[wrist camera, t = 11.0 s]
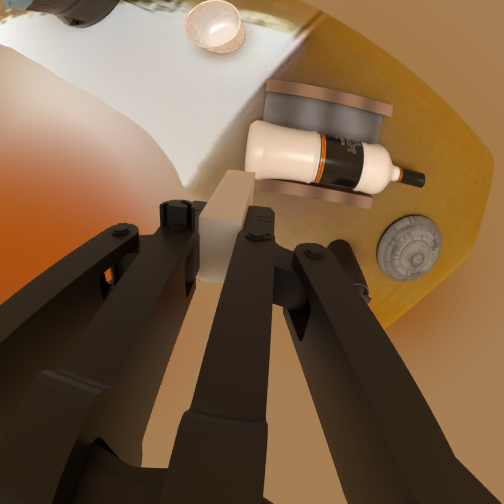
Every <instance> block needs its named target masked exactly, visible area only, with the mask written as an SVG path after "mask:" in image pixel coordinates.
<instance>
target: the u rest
mask: <svg viewBox="0 0 504 504" xmlns="http://www.w3.org/2000/svg"><path fill="white" fill-rule="evenodd" d="M265 91H266V99H265V106H264V114H263V121H266V122H268V123H271V124H275V125H279V126H283V127H288V128H293V129H298V130H305V131H316V132H317V133H323V134H328V135H334V136H339V137H344V138H349V139H354V140H358V141H363V142H367V143H372V144H377V143H378V139H379V134H380V129H381V123H382V118H383V116H387V117H392V111H393V105H389V104H386V103H383V102H379V101H376V100H372V99H369V98H365V97H361V96H358V95H354V94H349V93H345V92H341V91H337V90H332V89H327V88H323V87H318V86H312V85H307V84H301V83H295V82H289V81H282V80H275V79H267V81H266V88H265ZM254 189H257V190H264V191H270V192H277V193H283V194H290V195H296V196H302V197H308V198H314V199H320V200H325V201H331V202H336V203H342V204H347V205H352V206H357V207H362V208H367V209H370V208H371V205H372V201H373V197H372V196H371V195H370V194H368V193H364V192H361V191H354V190H352V189H349V188H344V187H338V186H332V185H326V184H319V183H313V182H311V183H306V182H302V181H296V180H287V179H261V180H258V179H255V183H254Z"/></svg>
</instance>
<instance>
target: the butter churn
mask: <svg viewBox="0 0 504 504" xmlns="http://www.w3.org/2000/svg"><path fill="white" fill-rule="evenodd" d="M327 249H329V250H330V251H331V252H332V254H333V255H334V256H335V258H336V259H337V261H338V262H339V263H340V265H341V266H342V268H343V269H344V271H345V272H346V274H347V275H348V276H349V278H350V279H351V281H352V282H353V284H354V285H355V287H356V288H357V290H358V291H359V293H360V294H361V296H362V297H363V299H364V300H365V302H366V303H367V304H368V303H369V302H370V300H371V298H370V297H369V296H368V295H369V290H368V286H367V284H366V280H365V278H364V276H363V273H362V270H361V269H360V266H359V264H358V263H357V260H356V257H355V255H354V253H353V251H352V249H351V247H350V245H349V244H348V242H346V241H344V240H336V241H334V242H331V244H330V245H329V246H328V248H327Z"/></svg>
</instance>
